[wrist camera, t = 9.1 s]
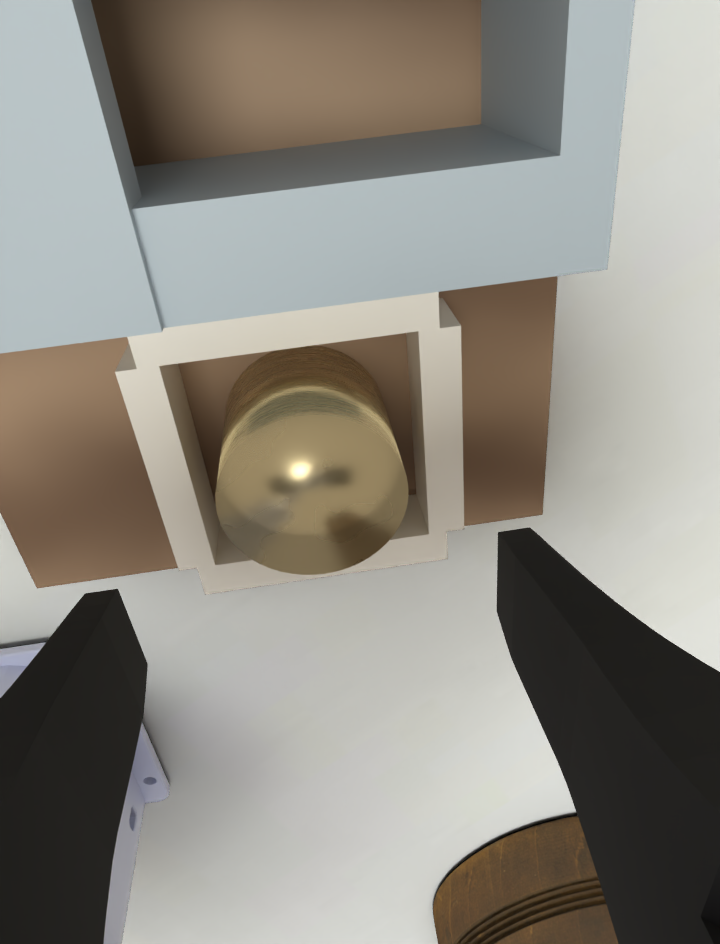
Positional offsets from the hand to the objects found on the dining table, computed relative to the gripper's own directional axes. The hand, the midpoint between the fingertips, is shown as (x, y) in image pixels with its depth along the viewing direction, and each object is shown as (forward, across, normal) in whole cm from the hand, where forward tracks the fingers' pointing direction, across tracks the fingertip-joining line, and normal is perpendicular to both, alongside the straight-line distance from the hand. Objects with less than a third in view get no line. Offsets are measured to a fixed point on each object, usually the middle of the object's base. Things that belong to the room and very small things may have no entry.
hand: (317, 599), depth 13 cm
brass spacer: (+7, 0, 0) cm, 7 cm away
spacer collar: (+7, 0, 0) cm, 7 cm away
